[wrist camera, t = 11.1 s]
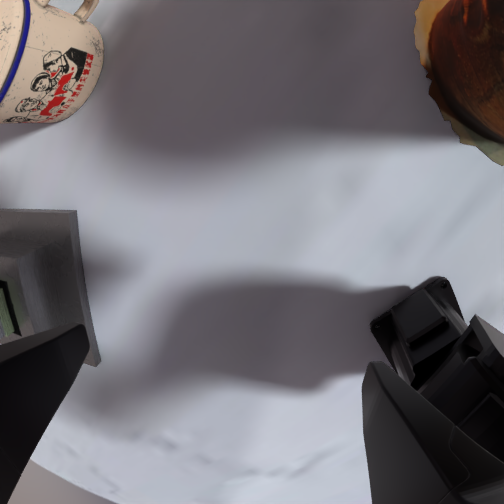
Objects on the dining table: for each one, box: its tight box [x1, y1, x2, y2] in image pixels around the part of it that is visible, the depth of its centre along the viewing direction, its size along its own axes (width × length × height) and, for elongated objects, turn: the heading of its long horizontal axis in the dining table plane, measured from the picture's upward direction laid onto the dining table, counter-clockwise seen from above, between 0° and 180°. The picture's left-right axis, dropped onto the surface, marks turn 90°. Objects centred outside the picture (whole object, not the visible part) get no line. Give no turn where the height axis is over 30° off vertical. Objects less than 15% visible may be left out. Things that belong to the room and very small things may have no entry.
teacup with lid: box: [0, 0, 104, 124], centre depth 12 cm, size 12×9×12 cm
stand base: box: [0, 209, 101, 367], centre depth 22 cm, size 14×14×6 cm
